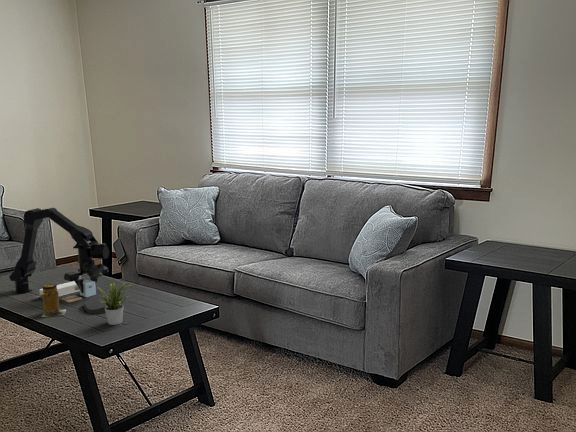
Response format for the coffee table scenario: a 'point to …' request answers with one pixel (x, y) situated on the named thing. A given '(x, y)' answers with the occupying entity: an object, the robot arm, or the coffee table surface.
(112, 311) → the house plant
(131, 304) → the coffee table surface
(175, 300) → the coffee table surface
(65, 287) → the power strip
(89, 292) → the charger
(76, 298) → the board
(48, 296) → the condiment
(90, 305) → the media streaming box
